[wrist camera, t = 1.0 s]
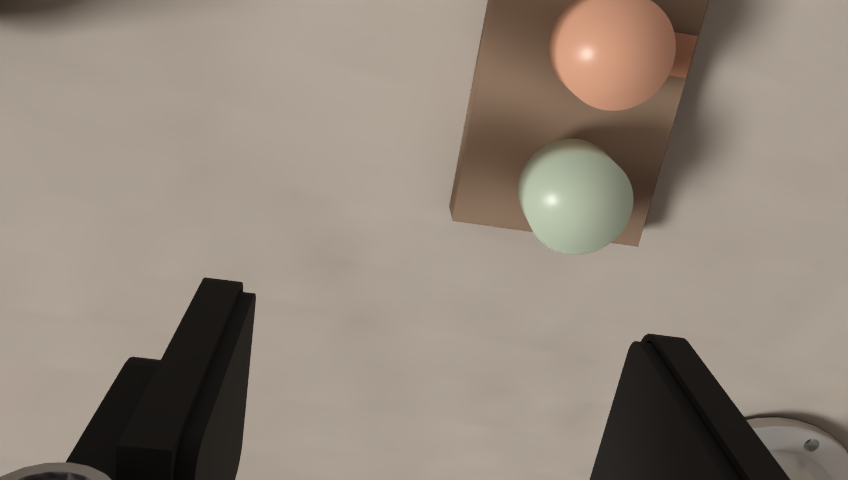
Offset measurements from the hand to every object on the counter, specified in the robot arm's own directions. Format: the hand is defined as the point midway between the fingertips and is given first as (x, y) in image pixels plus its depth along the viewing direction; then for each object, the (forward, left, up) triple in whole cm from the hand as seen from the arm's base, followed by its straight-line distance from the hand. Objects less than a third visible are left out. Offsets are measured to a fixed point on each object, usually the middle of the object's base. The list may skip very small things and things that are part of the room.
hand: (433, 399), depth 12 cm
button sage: (-7, -4, -22) cm, 24 cm away
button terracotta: (-3, -8, -22) cm, 24 cm away
